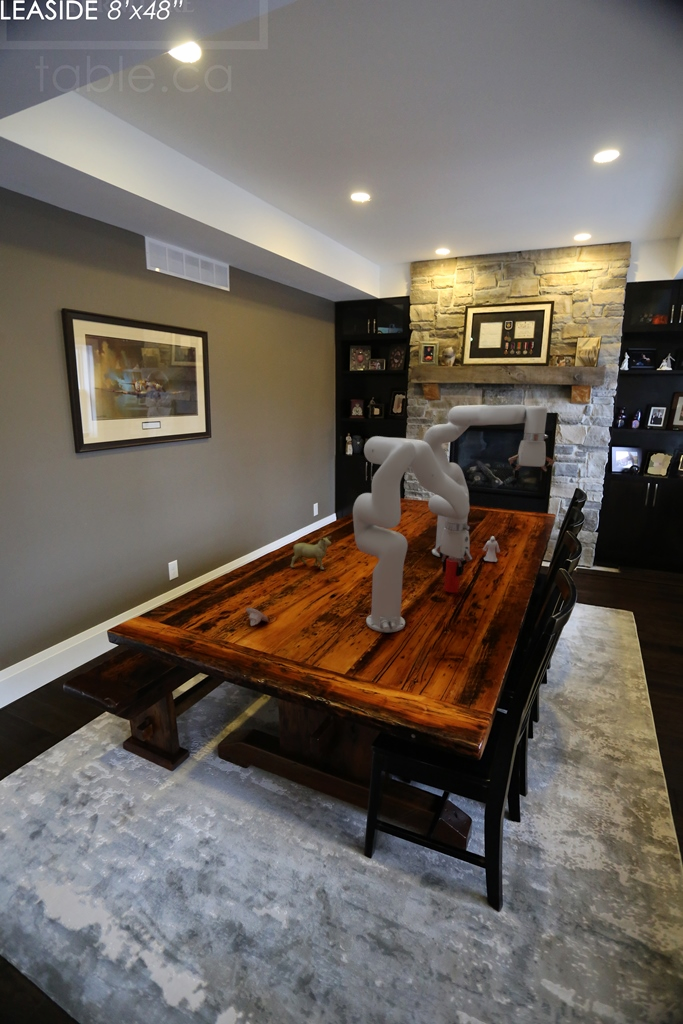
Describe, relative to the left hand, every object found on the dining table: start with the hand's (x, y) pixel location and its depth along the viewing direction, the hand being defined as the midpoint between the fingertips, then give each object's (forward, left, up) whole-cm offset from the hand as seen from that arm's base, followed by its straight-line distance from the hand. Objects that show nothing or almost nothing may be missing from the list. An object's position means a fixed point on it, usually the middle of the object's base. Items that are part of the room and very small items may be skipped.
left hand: (452, 572), depth 186 cm
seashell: (-22, +70, -8) cm, 74 cm away
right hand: (+22, -36, +31) cm, 52 cm away
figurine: (+36, -29, -8) cm, 47 cm away
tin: (0, 0, -7) cm, 7 cm away
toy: (+29, +52, -8) cm, 60 cm away
